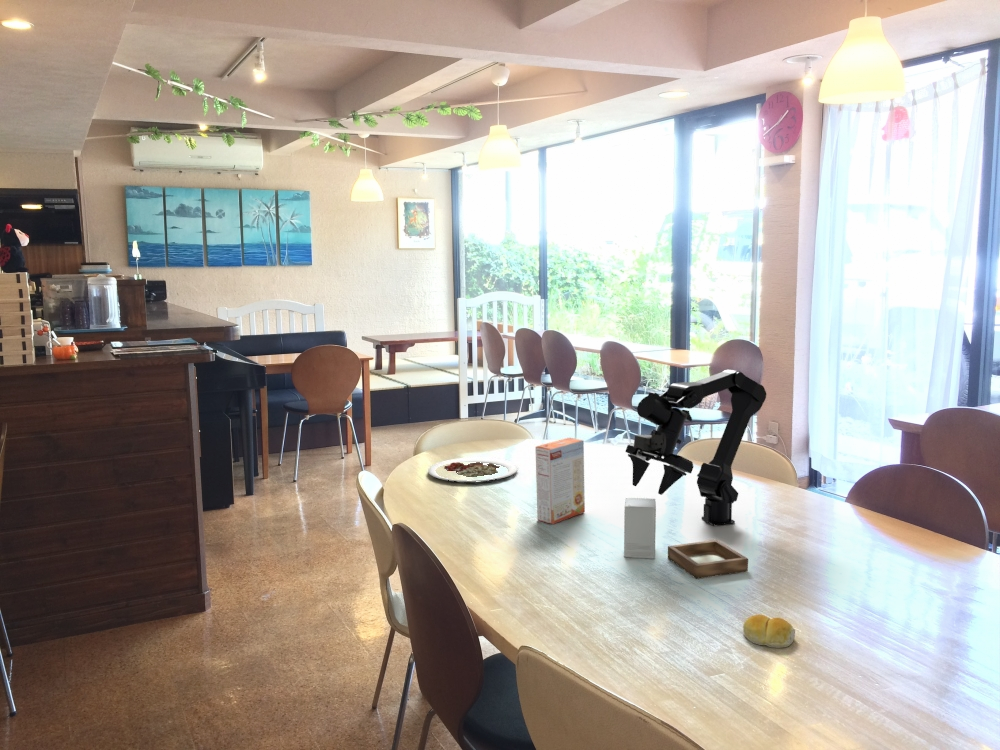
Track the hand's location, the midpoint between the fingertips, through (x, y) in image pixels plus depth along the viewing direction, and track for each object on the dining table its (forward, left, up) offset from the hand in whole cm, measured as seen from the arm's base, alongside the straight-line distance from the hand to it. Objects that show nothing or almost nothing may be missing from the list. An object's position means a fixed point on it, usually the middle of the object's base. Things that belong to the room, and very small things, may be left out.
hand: (646, 489), depth 198 cm
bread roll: (+2, +54, -14) cm, 56 cm away
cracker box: (+13, -25, -13) cm, 31 cm away
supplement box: (+5, +7, -13) cm, 16 cm away
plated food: (+24, -78, -14) cm, 83 cm away
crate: (-6, +19, -13) cm, 24 cm away
